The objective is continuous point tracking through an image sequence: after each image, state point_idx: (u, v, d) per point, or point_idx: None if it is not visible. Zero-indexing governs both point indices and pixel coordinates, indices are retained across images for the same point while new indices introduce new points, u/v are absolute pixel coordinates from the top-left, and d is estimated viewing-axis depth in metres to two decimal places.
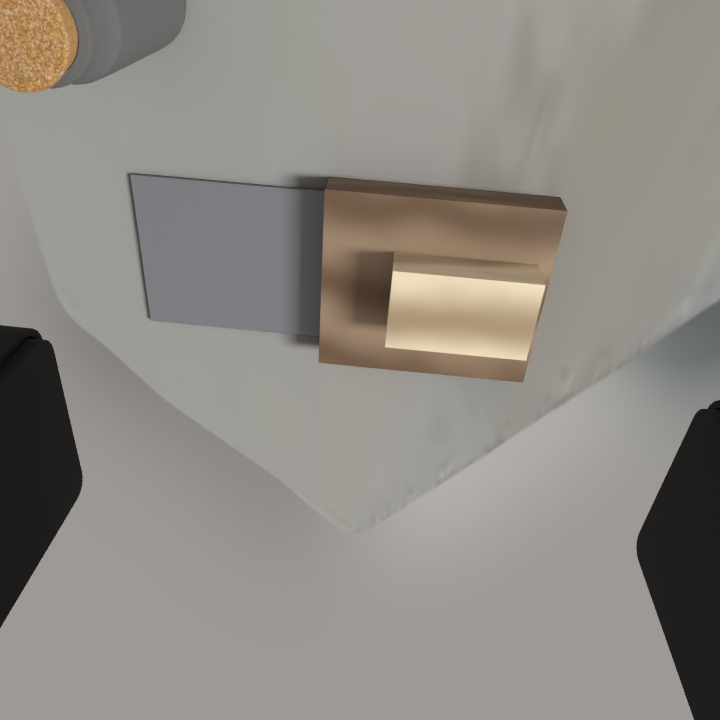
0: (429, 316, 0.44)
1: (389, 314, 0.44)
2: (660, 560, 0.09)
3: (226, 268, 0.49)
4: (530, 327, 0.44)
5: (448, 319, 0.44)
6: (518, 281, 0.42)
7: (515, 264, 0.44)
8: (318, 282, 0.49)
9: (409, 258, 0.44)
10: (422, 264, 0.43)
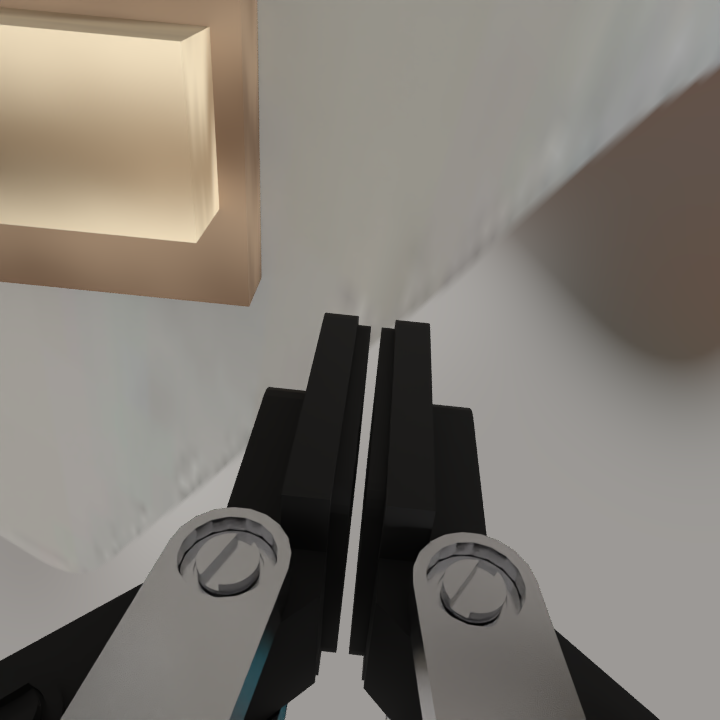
0: None
1: None
2: None
3: None
4: (180, 159, 0.20)
5: (0, 141, 0.20)
6: (119, 34, 0.18)
7: (155, 22, 0.20)
8: None
9: None
10: None
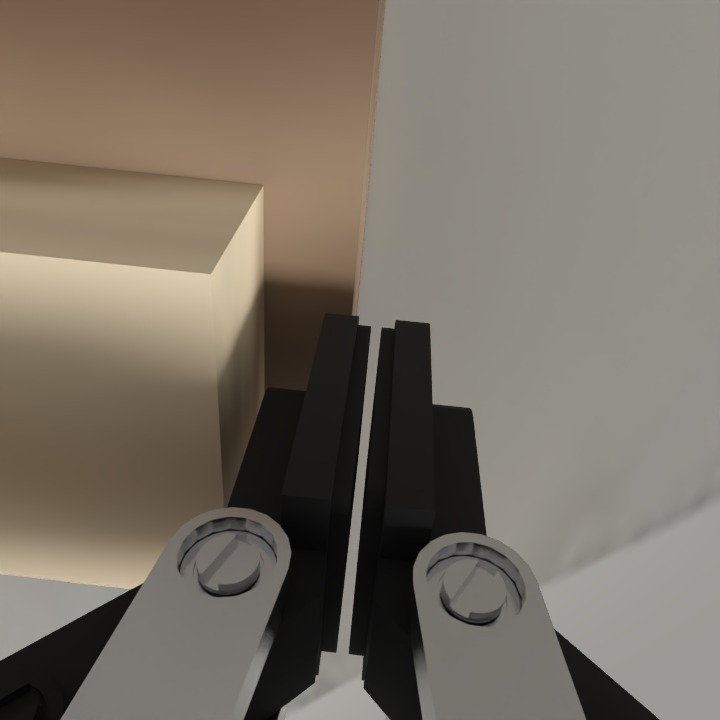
0: None
1: None
2: (366, 469, 0.10)
3: None
4: (202, 480, 0.09)
5: None
6: (62, 253, 0.07)
7: (151, 179, 0.10)
8: None
9: None
10: None
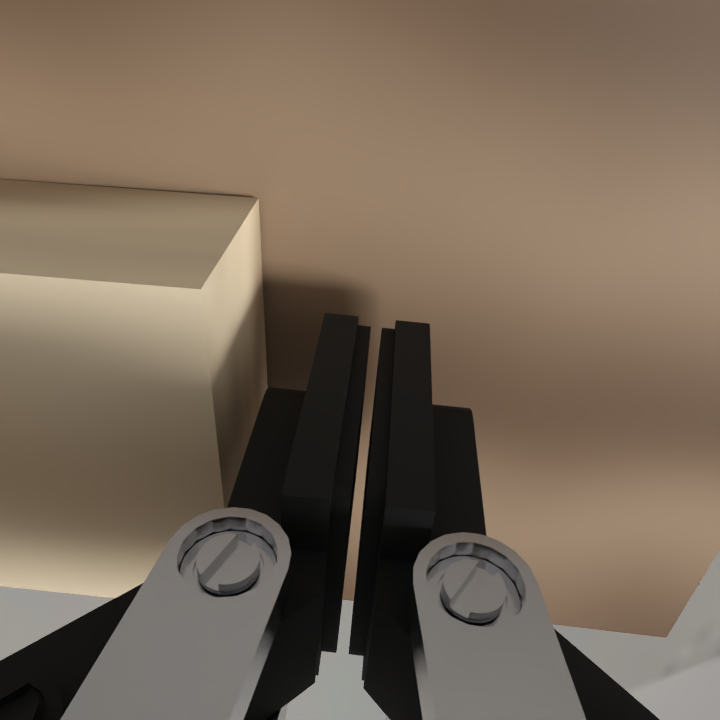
0: None
1: None
2: (366, 469, 0.10)
3: None
4: (203, 492, 0.09)
5: None
6: (56, 272, 0.07)
7: (148, 196, 0.10)
8: None
9: None
10: None
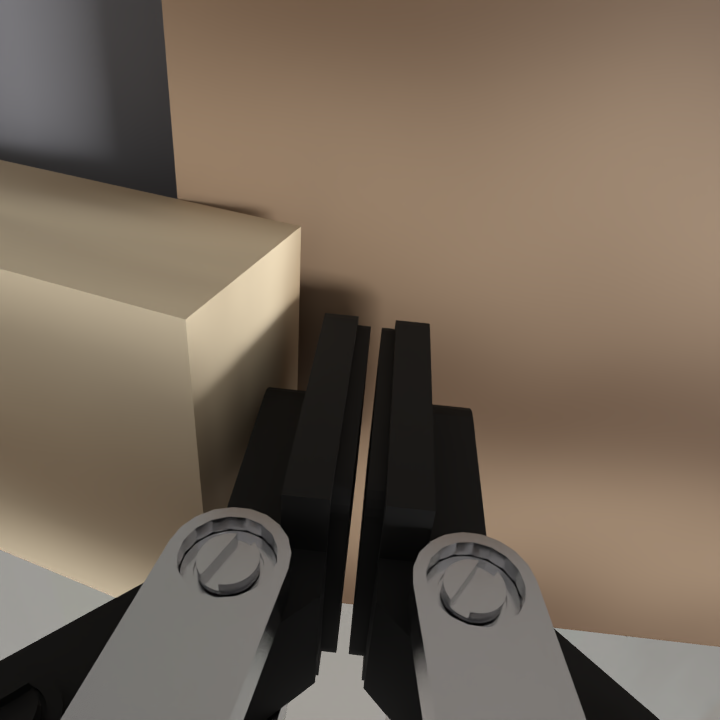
0: None
1: None
2: (366, 469, 0.10)
3: None
4: (186, 517, 0.09)
5: None
6: (63, 279, 0.08)
7: (194, 210, 0.10)
8: None
9: None
10: None
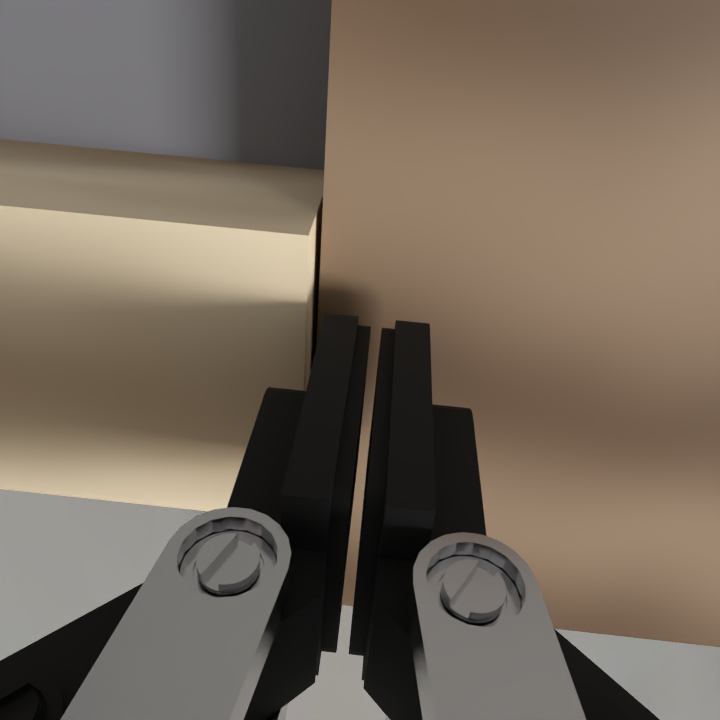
0: None
1: None
2: (366, 469, 0.10)
3: None
4: None
5: None
6: (190, 220, 0.09)
7: (240, 166, 0.12)
8: None
9: None
10: None
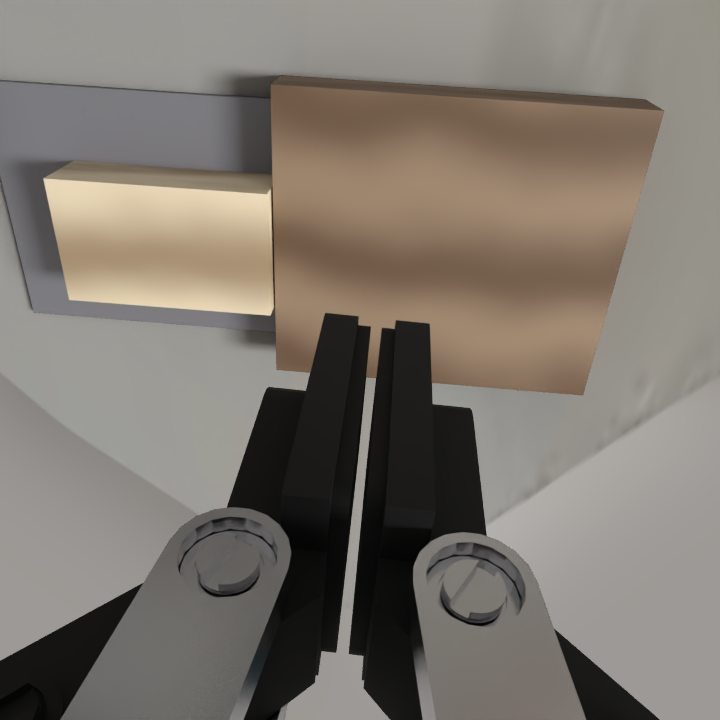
0: (115, 249, 0.30)
1: (59, 248, 0.30)
2: (366, 469, 0.10)
3: None
4: (263, 263, 0.30)
5: (145, 254, 0.30)
6: (228, 190, 0.28)
7: (244, 174, 0.30)
8: None
9: (87, 167, 0.30)
10: (99, 172, 0.30)
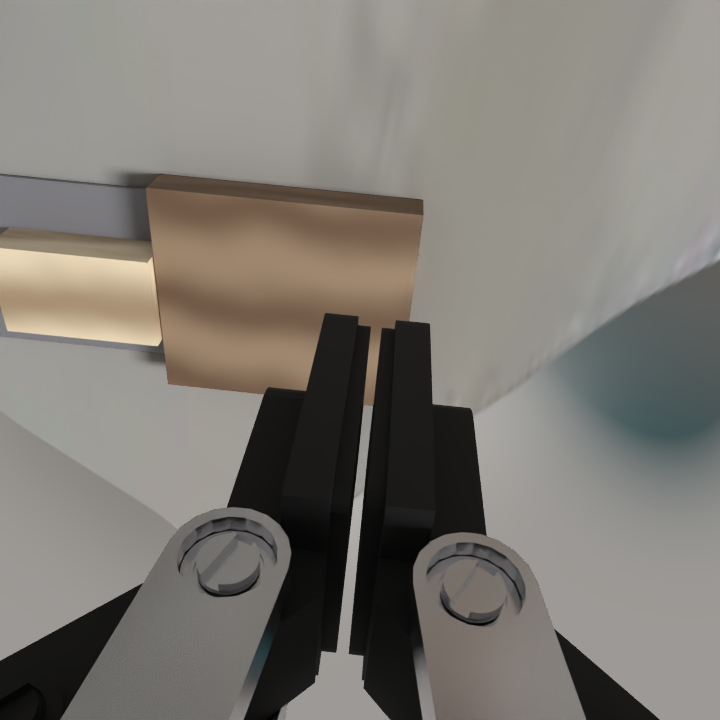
0: (39, 296, 0.41)
1: None
2: (366, 469, 0.10)
3: None
4: (148, 309, 0.40)
5: (61, 300, 0.41)
6: (119, 259, 0.39)
7: (137, 241, 0.41)
8: None
9: (19, 234, 0.41)
10: (27, 240, 0.40)
